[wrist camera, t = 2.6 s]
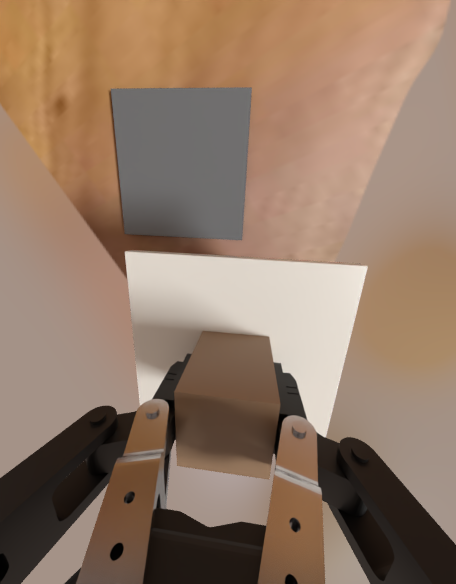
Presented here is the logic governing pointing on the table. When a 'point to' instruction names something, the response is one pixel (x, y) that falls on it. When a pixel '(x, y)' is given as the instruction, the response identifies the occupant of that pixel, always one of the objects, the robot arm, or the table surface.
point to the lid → (239, 346)
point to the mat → (182, 160)
